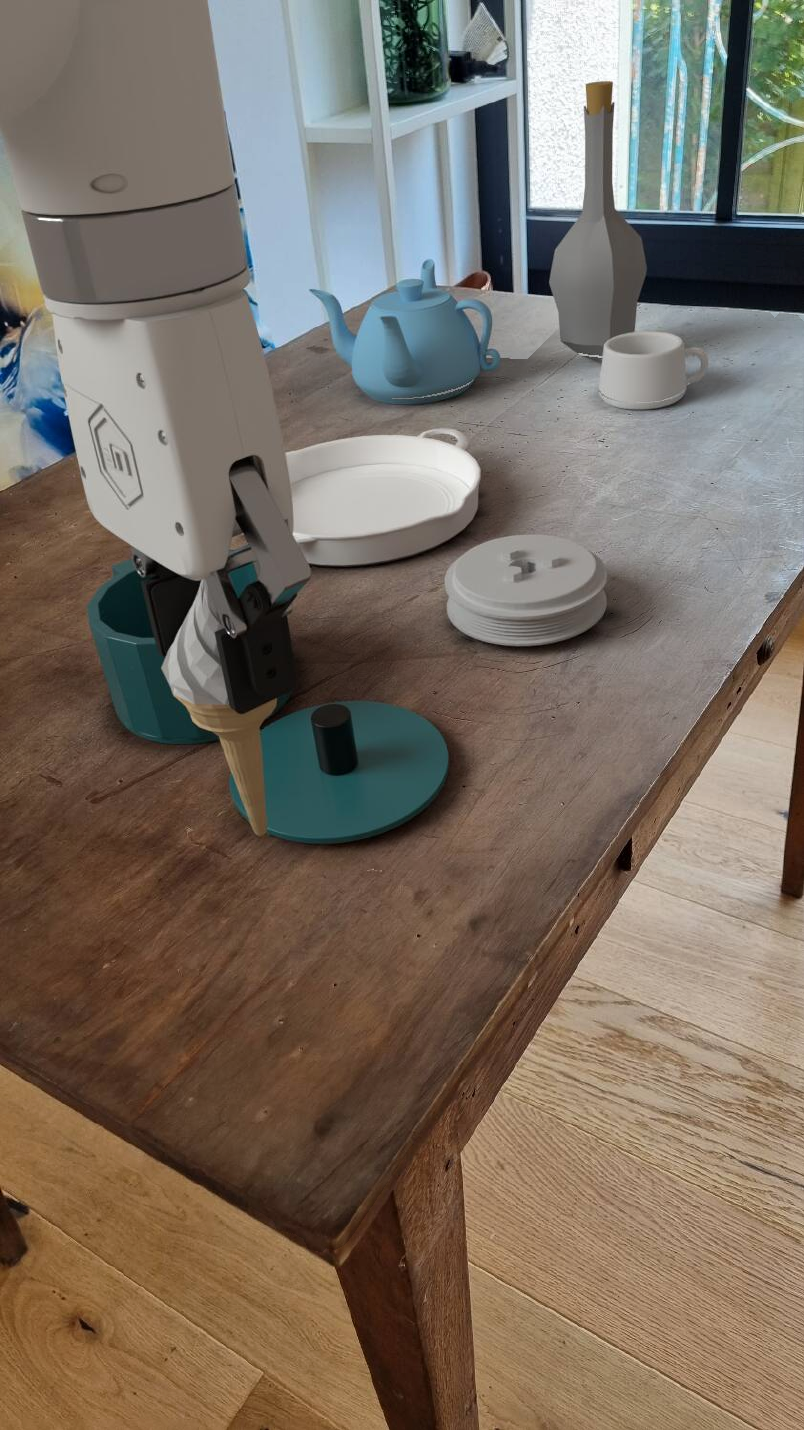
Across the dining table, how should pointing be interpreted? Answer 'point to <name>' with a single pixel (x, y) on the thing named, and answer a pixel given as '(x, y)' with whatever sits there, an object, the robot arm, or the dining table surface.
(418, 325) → the teapot
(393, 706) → the pot lid
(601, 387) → the mug
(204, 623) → the ice cream cone
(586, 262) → the bottle
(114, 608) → the pot
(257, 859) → the dining table surface
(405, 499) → the pan
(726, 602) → the dining table surface
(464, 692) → the dining table surface
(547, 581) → the lid
